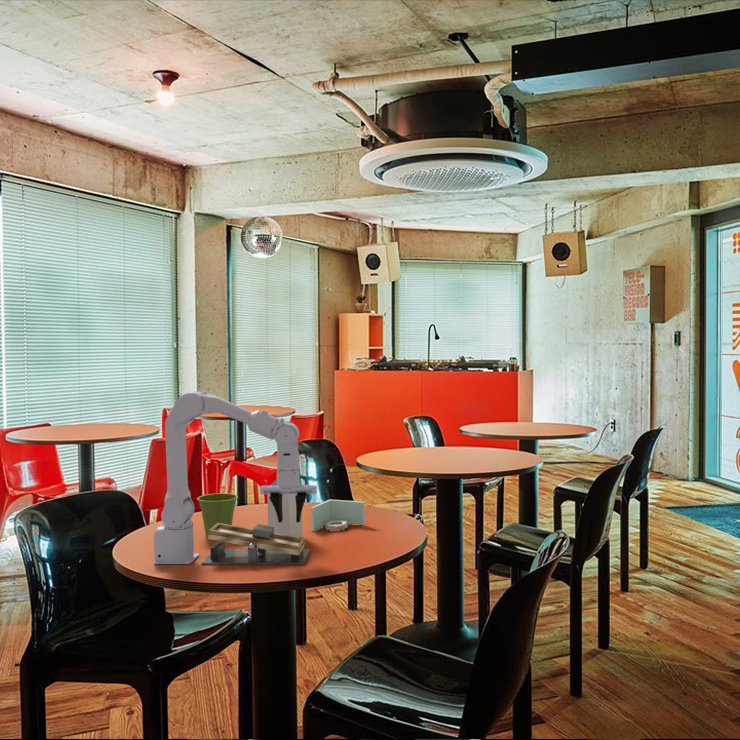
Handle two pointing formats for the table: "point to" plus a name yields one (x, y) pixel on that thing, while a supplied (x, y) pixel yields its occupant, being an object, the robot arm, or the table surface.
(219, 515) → the plant pot
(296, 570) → the table surface
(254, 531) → the block
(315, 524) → the right angle wall
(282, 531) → the milk carton
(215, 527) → the beam
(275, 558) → the beam stand
